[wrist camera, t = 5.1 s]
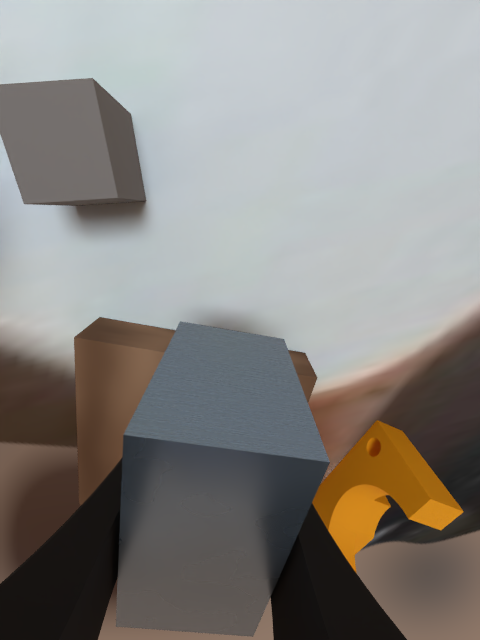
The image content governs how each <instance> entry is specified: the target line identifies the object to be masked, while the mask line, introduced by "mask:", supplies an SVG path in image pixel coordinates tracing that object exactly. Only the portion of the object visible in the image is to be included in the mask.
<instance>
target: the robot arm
mask: <svg viewBox="0 0 480 640" xmlns="http://www.w3.org/2000/svg"><path fill="white" fill-rule="evenodd" d="M121 482H122V458H121V459H120V461H119V462H118V463H117V465H116V466H115V467H114V468H113V470H112V471H111V472H110V473H109V474H108V476H107V477H106V478H105V479H104V480H103V481H102V483H101V484H100V485H99V486H98V487H97V489H96V490H95V491H94V492H93V493H92V494H91V495H90V496H89V497H88V499H87V500H86V501H85V502H84V503H83V504H82V505H81V506H80V507H79V508H78V510H76V512H75V513H74V514H73V515H72V516H71V517H70V518H69V519H68V520H67V521H66V522H65V523H64V524H63V526H61V527H60V528H59V529H58V530H57V531H56V532H55V533H54V534H53V535H52V536H51V537H50V538H49V539H48V540H47V541H46V542H45V543H44V544H43V545H42V546H41V547H40V548H39V549H38V550H37V551H36V552H35V553H34V554H33V555H31V556H30V557H29V558H28V559H27V560H26V561H25V562H24V563H23V564H22V565H21V566H20V567H18V568H17V569H16V570H15V571H14V572H13V573H12V574H11V575H10V576H9V577H8V578H6V579H5V580H4V581H3V582H2V583H1V584H0V640H98V636H99V633H100V630H101V626H102V623H103V620H104V617H105V613H106V610H107V606H108V603H109V600H110V597H111V594H112V591H113V588H114V585H115V583H116V580H117V577H118V559H119V533H120V507H121ZM271 604H272V617H273V633H274V640H407V639H406V638H405V637H404V635H403V634H402V633H401V631H400V630H399V629H398V628H397V626H396V625H395V624H394V623H393V621H392V620H391V619H390V618H389V617H388V615H387V614H386V613H385V611H384V610H383V609H382V608H381V607H380V605H379V604H378V602H377V601H376V600H375V598H374V597H373V596H372V594H371V593H370V592H369V590H368V589H367V588H366V586H365V585H364V583H363V582H362V581H361V579H360V578H359V576H358V575H357V574H356V572H355V571H354V569H353V568H352V566H351V565H350V563H349V562H348V561H347V559H346V558H345V556H344V555H343V553H342V551H341V550H340V548H339V547H338V545H337V544H336V542H335V541H334V539H333V537H332V536H331V534H330V533H329V531H328V529H327V528H326V526H325V524H324V523H323V521H322V519H321V518H320V516H319V514H318V512H317V511H316V509H315V507H314V505H313V504H311V506H310V508H309V510H308V513H307V515H306V517H305V520H304V522H303V524H302V526H301V529H300V531H299V533H298V535H297V538H296V540H295V542H294V545H293V547H292V549H291V551H290V554H289V556H288V558H287V560H286V563H285V565H284V567H283V570H282V572H281V574H280V576H279V579H278V581H277V583H276V585H275V588H274V590H273V592H272V595H271Z"/></svg>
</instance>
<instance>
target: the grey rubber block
mask: <svg viewBox="0 0 480 640" xmlns="http://www.w3.org/2000/svg"><path fill="white" fill-rule="evenodd" d="M0 134H1V137H2V140H3V143H4V146H5V149H6V152H7V155H8V158H9V161H10V164H11V167H12V170H13V173H14V176H15V178H16V181H17V184H18V187H19V190H20V193H21V196H22V199H23V202H24V204H39V205H70V206H78V205H93V204H108V203H123V202H138V201H146V197H145V191H144V186H143V180H142V174H141V169H140V163H139V157H138V152H137V146H136V141H135V135H134V129H133V124H132V118H131V114H130V113H129V112H128V111H127V110H126V109H125V108H124V107H123V106H122V105H121V104H120V103H119V102H117V101H116V100H115V99H114V98H113V97H112V96H111V95H110V94H109V93H108V92H107V91H106V90H105V89H104V88H103V87H101V86H100V85H99V84H98V83H97V82H96V81H95V80H94V79H93V78H88V79H73V80H59V81H44V82H30V83H15V84H1V85H0Z"/></svg>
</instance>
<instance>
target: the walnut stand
mask: <svg viewBox="0 0 480 640" xmlns="http://www.w3.org/2000/svg"><path fill="white" fill-rule="evenodd" d="M175 331H176V330H170V329H164V328H158V327H153V326H147V325H141V324H135V323H130V322H124V321H118V320H112V319H107V318H101V317H99V318H98V319H97V320H96V321H94V322H93V323H92V324H91V325H89V326H88V327H87V328H85V329H84V330H83V331H82V332H80V333H79V334H78V335H77V336H75V337H74V348H75V381H76V413H77V446H78V478H79V504H80V505H82V504H83V503H84V502H85V501H86V500H87V499H88V497H89V496H90V495H91V494H92V493H93V492H94V491H95V490H96V489H97V487H98V486H99V485H100V484H101V483H102V481H103V480H104V479H105V478H106V477H107V476H108V474H109V473H110V472H111V471H112V470H113V468H114V467H115V466H116V465H117V463H118V462H119V461H120V459H121V458H122V456H123V435H124V433H125V431H126V429H127V427H128V425H129V423H130V421H131V419H132V417H133V415H134V413H135V411H136V409H137V407H138V405H139V403H140V401H141V399H142V397H143V395H144V393H145V391H146V389H147V387H148V385H149V383H150V381H151V379H152V377H153V375H154V373H155V371H156V369H157V367H158V365H159V363H160V361H161V359H162V357H163V355H164V353H165V351H166V349H167V347H168V345H169V343H170V341H171V339H172V337H173V335H174V333H175ZM288 351H289V354H290V357H291V359H292V362H293V365H294V367H295V370H296V373H297V376H298V378H299V381H300V384H301V386H302V389H303V392H304V394H305V397H306V400H307V402H308V401H309V399H310V396H311V393H312V391H313V388H314V385H315V382H316V380H317V376H316V374H315V372H314V370H313V368H312V366H311V364H310V362H309V360H308V358H307V356H306V354H305V353H302V352H296V351H291V350H288Z"/></svg>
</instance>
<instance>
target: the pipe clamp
mask: <svg viewBox="0 0 480 640" xmlns="http://www.w3.org/2000/svg"><path fill="white" fill-rule="evenodd" d="M385 495H390V496H391V497H392V498H393V499H394V500H395V501H396V502H397V503H398V504H399V505H400V507H401V508H402V509H403V511H404V512H405V514H406V515H407V517H408V519H410V520H413V521H416V522H419V523H422V524H425V525H427V526H430V527H433V528H436V529H439V530H442V529H443V528H444V527H446V526H447V525H448V524H449V523H450V522H452V521H453V520H454V519H455V518H457V517H458V516H459V515H460V514H461V513H463V512H464V511H463V510H462V509H461V507H460V506H459V505H458V504H457V502H456V501H455V500H454V498H453V497H452V496H451V494H450V493H449V492H448V490H447V489H446V488H445V486H444V485H443V484H442V483H441V481H440V480H439V479H438V477H437V476H436V475H435V473H434V472H433V471H432V469H431V468H430V467H429V465H428V464H427V463H426V462H425V460H424V459H423V458H422V456H421V455H420V454H419V452H418V451H417V450H416V448H415V447H414V446H413V444H412V443H411V442H410V441H409V439H408V438H407V437H406V435H405V434H404V433H403V431H401V430H399V429H396V428H394V427H392V426H389V425H387V424H385V423H382V422H380V421H378V420H377V421H376V422H375V423H374V424H373V425H372V426H371V428H370V429H369V430H368V431H367V432H366V433H365V434H364V436H363V437H362V438H361V439H360V440H359V441H358V442H357V444H356V445H355V446H354V447H353V448H352V449H351V450H350V452H349V453H348V454H347V455H346V456H345V457H344V458H343V460H342V461H341V462H340V463H339V464H338V465H337V466H336V467H335V469H334V470H333V471H332V472H331V473H330V474H329V475H328V477H327V478H326V479H325V480H324V481H323V482H322V483H321V485H320V486H319V488H318V490H317V492H316V495H315V497H314V499H313V501H312V504H313V505H314V507H315V509H316V511H317V512H318V514H319V516H320V518H321V519H322V521H323V523H324V524H325V526H326V528H327V529H328V531H329V533H330V534H331V536H332V537H333V539H334V541H335V542H336V544H337V545H338V547H339V548H340V550H341V551H342V553H343V555H344V556H345V558H346V559H347V561H348V562H349V563H350V565H351V566H352V568H353V569H354V571H355V572H356V567H355V554H356V553H357V552H358V551H360V550H361V549H362V548H363V547H364V546H365V545H366V544H367V543H368V542H369V541H371V540H372V539H373V538H374V533H375V530H376V527H377V524H378V522H379V520H380V518H381V516H382V515H383V514H384V512H385V511H386V510H387V509H388V508H390V507H391V506H390V504H389V502H388V500H387V498H386V496H385ZM356 574H357V573H356Z"/></svg>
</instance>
